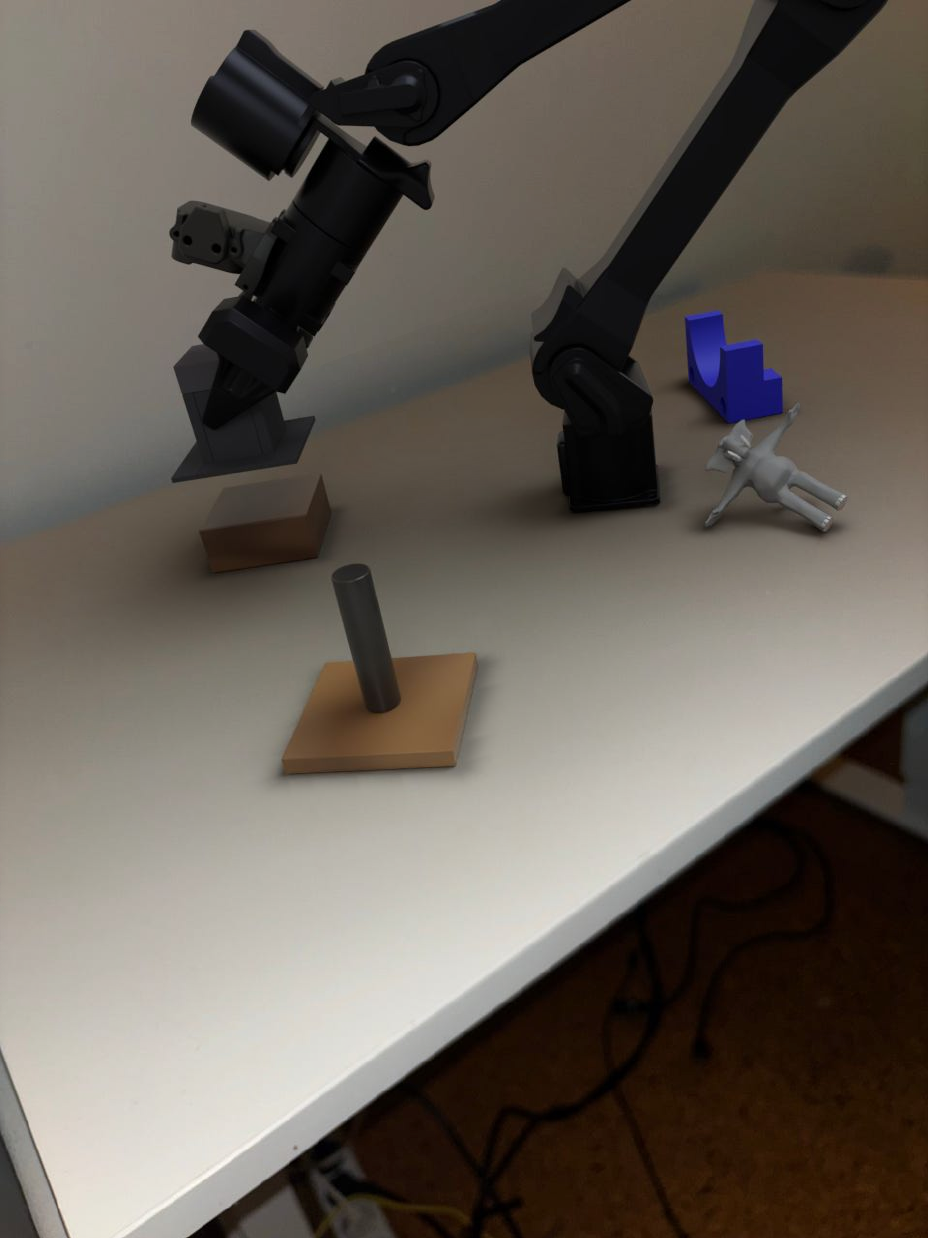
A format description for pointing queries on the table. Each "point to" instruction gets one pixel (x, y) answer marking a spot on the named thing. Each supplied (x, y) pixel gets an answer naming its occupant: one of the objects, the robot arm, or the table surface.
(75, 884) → the table surface
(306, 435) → the hat
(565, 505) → the table surface
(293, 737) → the hat stand
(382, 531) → the table surface
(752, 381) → the blue cradle bracket
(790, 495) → the elephant figurine
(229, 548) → the hat block
